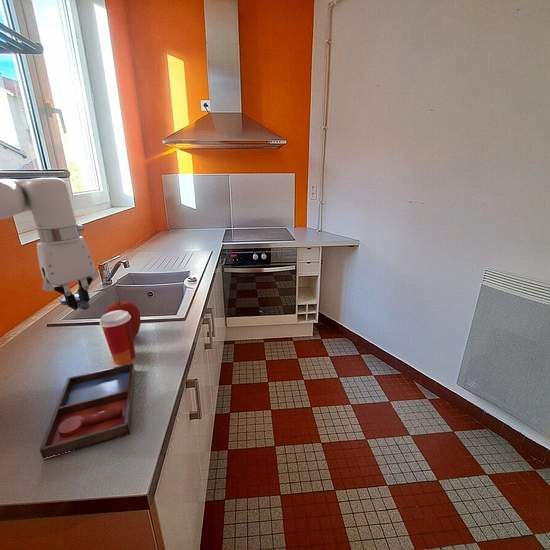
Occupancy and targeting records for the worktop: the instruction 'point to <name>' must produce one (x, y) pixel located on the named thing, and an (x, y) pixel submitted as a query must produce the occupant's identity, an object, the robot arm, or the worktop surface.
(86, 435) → the tray
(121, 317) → the paper cup
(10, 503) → the worktop surface
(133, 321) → the apple
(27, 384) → the worktop surface
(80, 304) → the blue spoon
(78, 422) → the red spoon
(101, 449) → the worktop surface
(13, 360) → the worktop surface
